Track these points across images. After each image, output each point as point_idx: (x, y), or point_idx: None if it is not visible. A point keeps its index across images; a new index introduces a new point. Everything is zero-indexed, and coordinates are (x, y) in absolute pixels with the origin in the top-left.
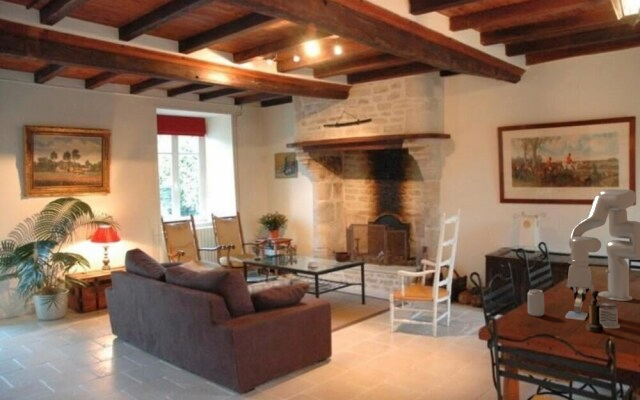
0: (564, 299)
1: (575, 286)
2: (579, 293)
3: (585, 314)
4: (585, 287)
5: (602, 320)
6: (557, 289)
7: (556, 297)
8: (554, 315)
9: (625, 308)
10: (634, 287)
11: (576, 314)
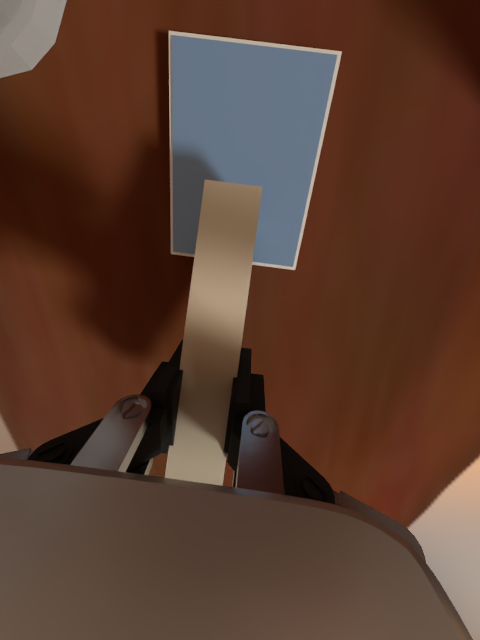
0: None
1: (243, 495)
2: (207, 431)
3: (175, 194)
4: (16, 463)
5: (8, 12)
6: None
7: None
8: (418, 135)
9: None
10: None
11: (241, 159)
